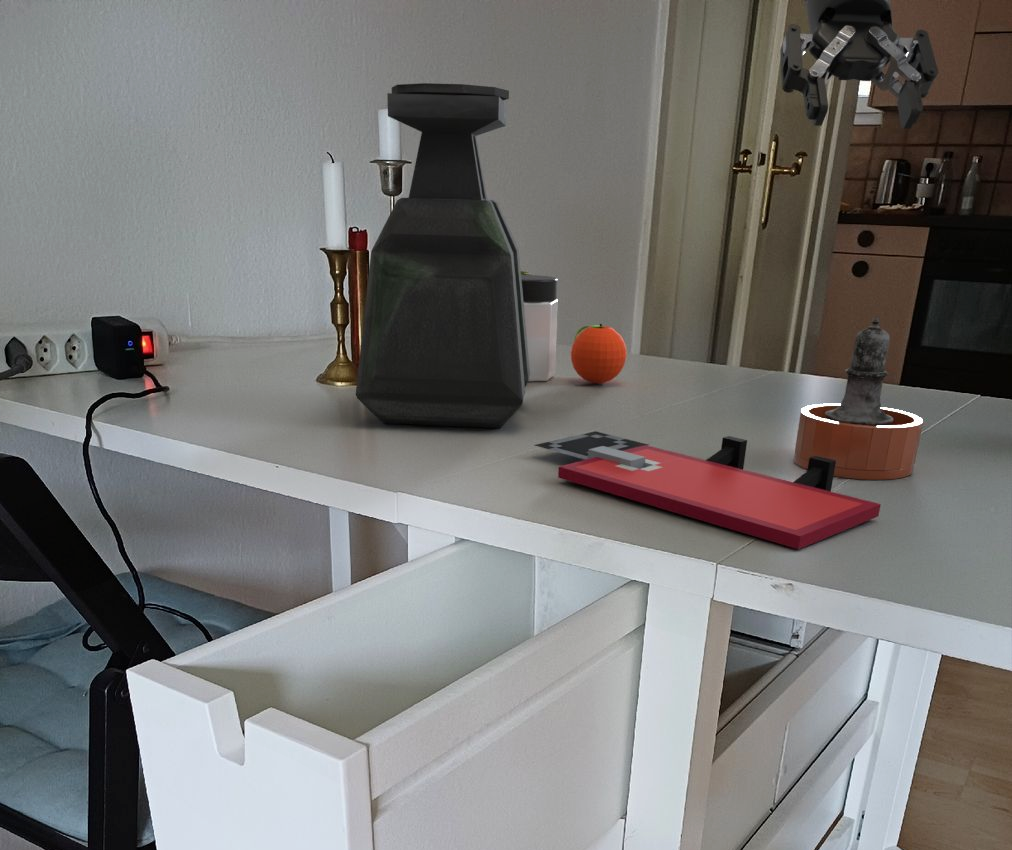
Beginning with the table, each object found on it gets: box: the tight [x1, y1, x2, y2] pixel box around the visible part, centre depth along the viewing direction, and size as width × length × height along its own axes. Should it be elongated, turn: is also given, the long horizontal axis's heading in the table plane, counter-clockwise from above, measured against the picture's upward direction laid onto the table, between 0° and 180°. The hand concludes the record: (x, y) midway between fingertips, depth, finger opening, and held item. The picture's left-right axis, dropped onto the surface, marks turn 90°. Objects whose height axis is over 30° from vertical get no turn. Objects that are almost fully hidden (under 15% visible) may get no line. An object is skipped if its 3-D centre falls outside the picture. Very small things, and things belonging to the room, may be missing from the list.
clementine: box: [570, 323, 628, 384], centre depth 127 cm, size 8×7×7 cm
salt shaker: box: [825, 316, 893, 426], centre depth 89 cm, size 6×6×12 cm
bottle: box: [355, 82, 530, 429], centre depth 101 cm, size 18×16×30 cm
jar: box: [521, 274, 559, 383], centre depth 128 cm, size 9×8×12 cm
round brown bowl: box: [793, 403, 924, 481], centre depth 91 cm, size 10×10×4 cm
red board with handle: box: [533, 431, 882, 550], centre depth 83 cm, size 30×3×15 cm
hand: (866, 120), depth 95 cm, fingers open, 8 cm apart
